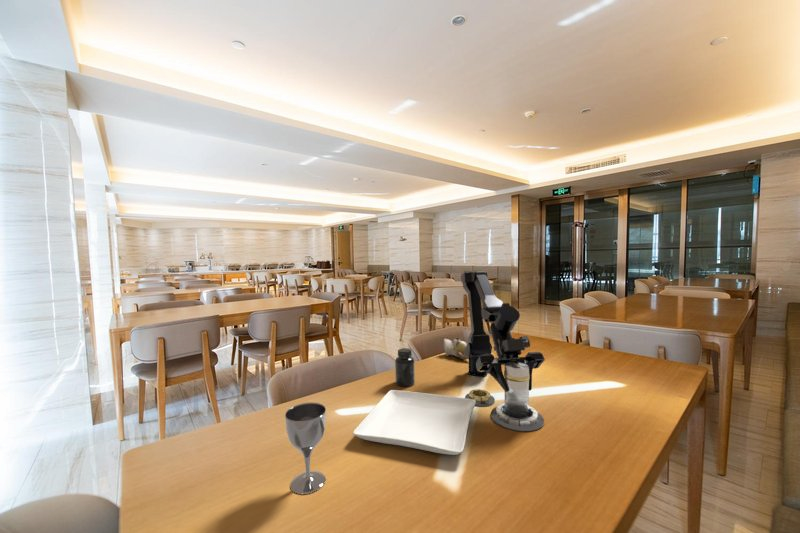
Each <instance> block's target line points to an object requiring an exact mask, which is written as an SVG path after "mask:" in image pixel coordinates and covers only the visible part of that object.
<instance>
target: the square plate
mask: <svg viewBox="0 0 800 533" xmlns="http://www.w3.org/2000/svg"><path fill="white" fill-rule="evenodd" d="M475 403H476V401H475V400H473V399H466V398H465V397H458V396H452V395H445V394H435V393H426V392H418V391H409V390H397V389H390V390H389V391H388V392H387V393H385V395H384V396H383V397H382V399H381V400H380V401H379V402H378V403H377V404H376V405H375V406H374V407H373V409H372V410H371V411H370V412H369V413H368V414H367V415H366V416H365V418H364V419H363V420H362V421H361V422H360V423H359V424H358V425H357V426H356V428H355V429H354V430H353V432H352V435H354V436H356V437H358V438H359V439H362V440H365V441H369V442H376V443H381V444H387V445H394V446H401V447H407V448H412V449H416V450H417V449H418V450H421V451H428V452H432V453H436V454H443V455H449V456H455V455H456V456H457V455H459V454H460V453H462V452H464V448H465V445H466V438H467V432H468V427H469V422H470V419H471V416H472V414H473V410H474V409H475V407H476V406H475Z"/></svg>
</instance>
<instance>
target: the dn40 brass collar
mask: <svg viewBox="0 0 800 533" xmlns="http://www.w3.org/2000/svg"><path fill="white" fill-rule="evenodd" d="M464 398H466V399H473V400H475V401H476V403H475V406H474V407H489V406H492V405H494V404H495V397H494V395H491V393H490V392H489V391H487V390H486V389H480V388H479V389H478V388H477V389H471V390H469V392H468V393H467V394H465V396H464Z"/></svg>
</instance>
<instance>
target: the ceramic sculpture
mask: <svg viewBox="0 0 800 533" xmlns="http://www.w3.org/2000/svg"><path fill="white" fill-rule="evenodd" d="M467 344H468V342H466V341H464V340H461V339H460V337H457V338H454V339H453V340H450V339H448V338H443V349H444V354H445V355H446V356H447V357H448V356H454V357H457V358H460V359H461V360H469V359H468V358H467V357H466V356H465V348H466V346H467Z"/></svg>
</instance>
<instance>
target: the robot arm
mask: <svg viewBox="0 0 800 533" xmlns="http://www.w3.org/2000/svg"><path fill="white" fill-rule="evenodd" d="M460 281H461V283H462V287H463V290H464V291H465V292H466V293H467V297H468V298H467V299H468V308H469V320H470V331H471V332H470V333H469V336H468V338H467V346H466V348H465V356H466V357H467V358H468V359H467V360H468V371H467V375H470V376H475V377H483V378H484V377H486V375H487V374H489V375H490V376H491V377H492V378H494V380H495V381H497V383H498V384H499V386H500V387H501V388H502V390H504V393H505V392H507V391H508V388H507V384H506V381H505V377H504V371H503V369H502V368H503V367H502V366H505V364H506V363H509V362H519V363H523V364H526V365H528V366H529V374H530V379H529V392H530V391H532V389H533V388H532V386H533V385H532V381H533V370H534V369H539V368H541V367H540V366H541V365H542V364H543V363H544V362H545V360H546V359H545V356H544V354H543V353H542V352H540V351H532V352H531V351H528V352H527V354H525V356H521V354H522V351H525V350H526V348H530V347H531V343H530V342H531V341H530V339H529V336H528V335H521V336H519V338H515V337H513V336H512V333H511V331H514V330H513V329H514V328H515V326H516V324H517V322H518V321H519V320H520V316H521V314H520V311H519V310H518V309H517V308H515V307H514V306H513V305H512V306H511V305H510V303H509V302H503V301H502V300H501V299H499V298H497V296H496V294H495V291H494V290H493V288H492V284H491V283H490V280H489V278H488V272H487V271H485V270H464V271H463V273H461V275H460ZM484 322H485V323H491V325H490V326H489V334H487V333H486V332H485V327H484ZM490 335H491V337H490ZM491 339H492V342H493V345H494V346H492V343H491ZM493 351H494V352H496V356H497V357H495V355H494V354H493V353H492V352H493Z"/></svg>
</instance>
